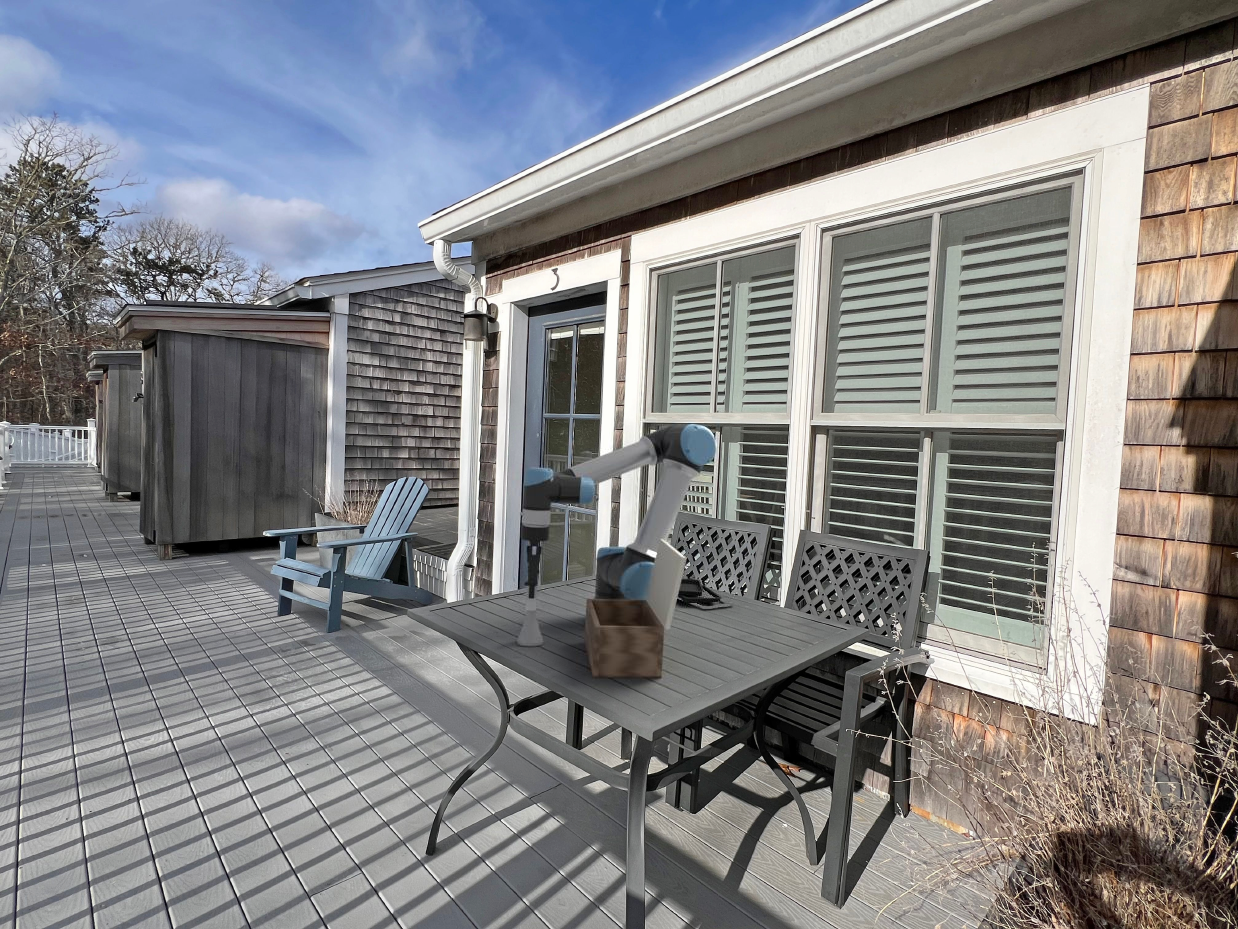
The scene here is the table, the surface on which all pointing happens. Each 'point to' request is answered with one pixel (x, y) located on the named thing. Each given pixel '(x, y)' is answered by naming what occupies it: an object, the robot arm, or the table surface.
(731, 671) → the table surface
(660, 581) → the lid
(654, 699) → the table surface
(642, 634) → the bin
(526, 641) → the flask
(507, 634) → the table surface
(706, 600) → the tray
